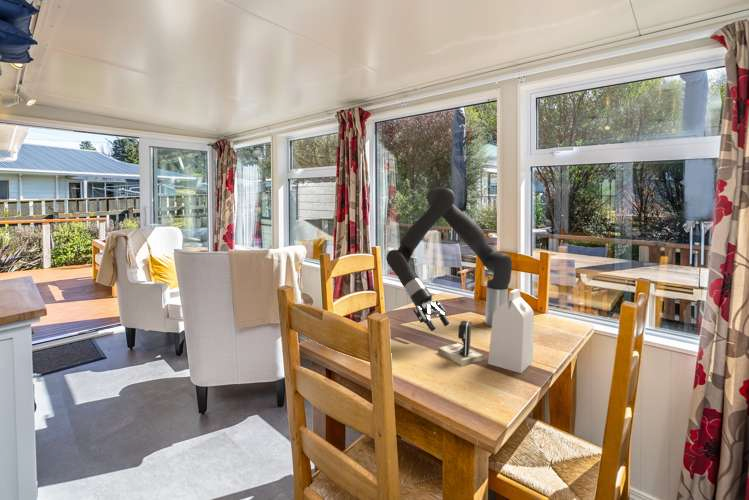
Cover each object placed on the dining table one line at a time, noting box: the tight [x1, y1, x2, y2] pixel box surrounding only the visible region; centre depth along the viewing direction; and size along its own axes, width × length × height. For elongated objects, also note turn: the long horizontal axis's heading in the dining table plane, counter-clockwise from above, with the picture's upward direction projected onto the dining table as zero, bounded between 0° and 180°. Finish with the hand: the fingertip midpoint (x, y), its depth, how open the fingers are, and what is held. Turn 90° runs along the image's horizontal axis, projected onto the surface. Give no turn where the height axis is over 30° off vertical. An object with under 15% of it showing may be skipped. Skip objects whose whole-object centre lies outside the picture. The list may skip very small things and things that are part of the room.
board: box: [437, 342, 485, 367], centre depth 142 cm, size 10×13×2 cm
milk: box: [487, 288, 535, 374], centre depth 135 cm, size 12×12×26 cm
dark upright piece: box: [457, 320, 472, 356], centre depth 139 cm, size 7×4×11 cm, turn 160°
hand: (440, 327), depth 147 cm, fingers open, 8 cm apart
